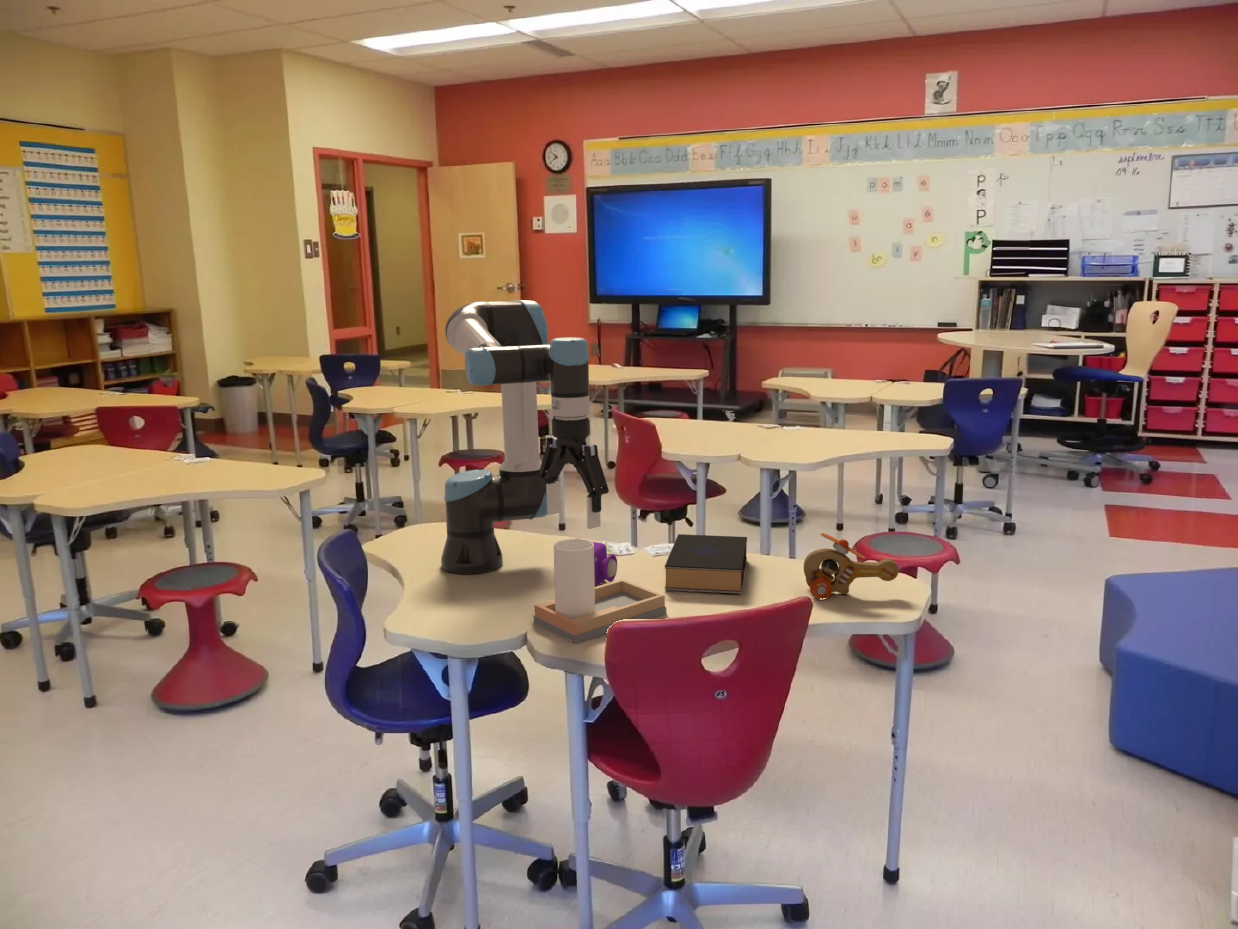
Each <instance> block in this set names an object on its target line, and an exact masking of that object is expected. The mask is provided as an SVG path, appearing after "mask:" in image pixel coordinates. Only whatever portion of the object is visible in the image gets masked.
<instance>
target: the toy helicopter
mask: <svg viewBox="0 0 1238 929" xmlns="http://www.w3.org/2000/svg"><path fill="white" fill-rule="evenodd" d="M820 536H821V537H823V538H826V539H827V540H830V541H831V542H834V543H833V545H832V548H833V549H832V548H819V549H816V550H813V551H811V552H810V553H809V554H807V556H806V557H805V559H804V562H803V574H804V576H805V582H806V584H807V586H808V588H809V590H810V594H811V595H812V597H813V598H814V599H816V600H818V599H820V598H822V599H823V598H827V599H829V598H830V597H831V595H832V593H838V594H839V595H842V594H846V595H848V594H849V593H850V592H849V591H850V585H851V584H852V583H853V581H854V580H856V579H859V578H860V579H861V578H879V579H880V580H882V581H884V582H891V581H894V580H895V579H896V578H897V577H898V575H899V573H900V572H899V567H898V566H899V565H898V564H897V562H896V561H895V560H893V559H890V558H884V559H881V560H879V561H878V562H871V561H869V562H868V561H854V560H851V558H850V557H848V556H847V555H848V553H849V552H850V553H852V554H854V555H855V556H857V557H858V558H861V559H866V556H864V555H863V554H862V553H859V552H858V551H856V550H854V549H853V548H852V547H850V545H849V544H850V543H849V541H848V540H846V539H845V538H843V539H837V538H835V537H833V536H831V535H829V534H826V533H824V532H821V533H820ZM820 567H821V568H820Z"/></svg>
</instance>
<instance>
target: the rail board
mask: <svg viewBox="0 0 1238 929" xmlns="http://www.w3.org/2000/svg"><path fill="white" fill-rule="evenodd" d="M665 601H666V595H664V594H663V593H660V592H657V591H655V590H652V589H650V588H647V587H644V586H642V585H639V584H637V583H635V582H631V581H629V580H627V579H623V578H622V579H618V580H613V581H612V582H608V583H604V584H600V585H599V586H597V587H595V612H594V613H591V614H588V615H585V616H582V617H578V618H575V619H570V618H568V617H566V616H564V615H561V614H559V613H557V612H555V598H554V599H550V600H547V601H542V602H539V603H535V604H534V614H533V617H532V618H533V623H535V624H536V625H539V626H540V627H542V628H545V629H546V630H547V631H548V630H549V631H550V632H552V633H554V634H557V635H559V636H561V637H562V638H564V639H566V640H568V641H571V642H572V643H574V644H580V643H583V642H587V641H589V640H591V639H595V638H598V637H600V636H604V635H607V634H606V632H607V629H608V628H609V626H611V625H612V624H613V623H614V622H616V621H619V620H623V619H649V620H651V619H655V618H657V617H660V616H663V615H666V614H667V606H666V602H665Z"/></svg>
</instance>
